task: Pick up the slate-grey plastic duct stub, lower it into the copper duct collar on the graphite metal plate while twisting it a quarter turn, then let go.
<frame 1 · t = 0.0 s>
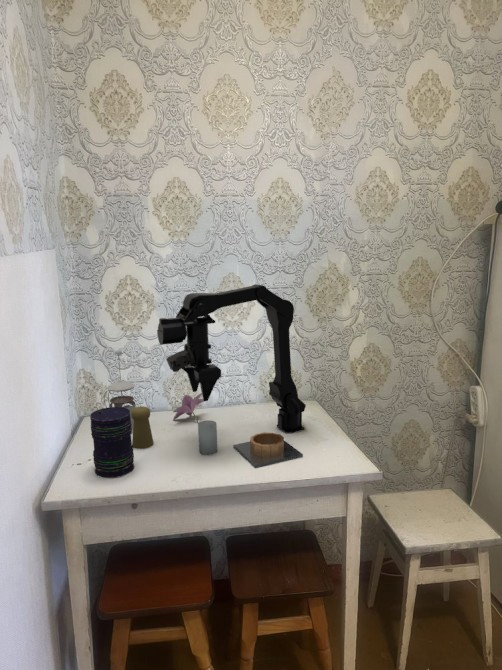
hand: (200, 396, 138), 15 cm above the table, fingers open, 9 cm apart
duct stub: (208, 451, 138), on the table
storage jar: (114, 469, 128), on the table
duct collar: (267, 452, 136), on the table
french press: (121, 429, 155), on the table
lily: (189, 421, 161), on the table
cork: (142, 445, 143), on the table
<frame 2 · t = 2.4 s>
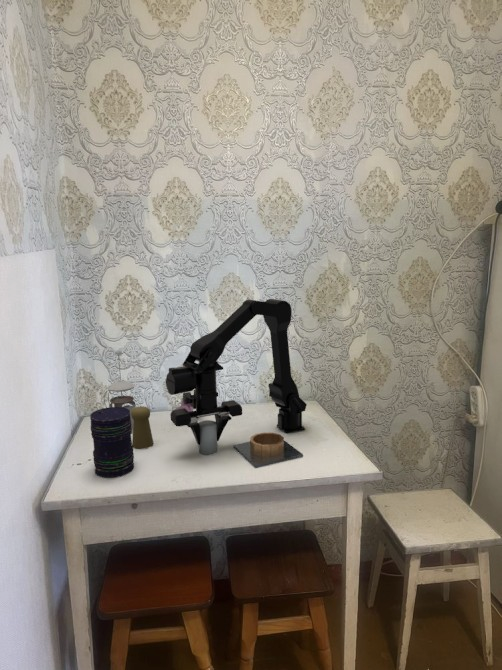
hand: (208, 442, 137), 3 cm above the table, fingers closed on duct stub, 5 cm apart
duct stub: (208, 451, 138), on the table, touching gripper
everything else where it was.
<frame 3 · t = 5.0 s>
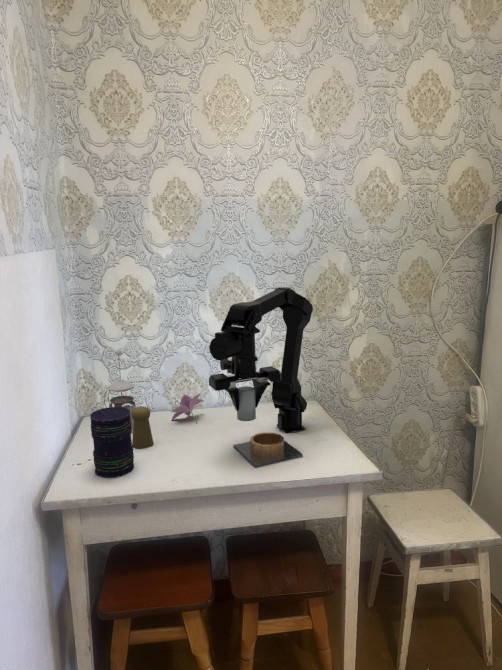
hand: (246, 408, 135), 12 cm above the table, fingers closed on duct stub, 5 cm apart
duct stub: (246, 417, 135), point 10 cm above the table, touching gripper
everything else where it was.
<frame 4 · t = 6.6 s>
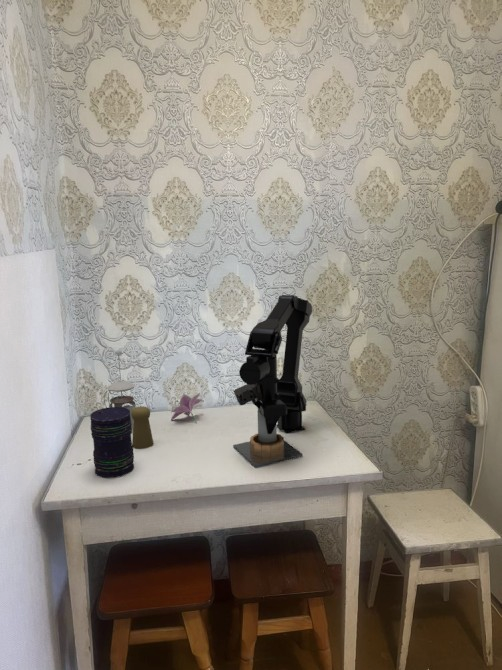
hand: (266, 430, 135), 6 cm above the table, fingers closed on duct stub, 5 cm apart
duct stub: (267, 438, 136), point 4 cm above the table, touching gripper
everything else where it was.
when the fingers open (5 cm above the table, at t = 7.7 s): duct stub drops 2 cm, resting on duct collar.
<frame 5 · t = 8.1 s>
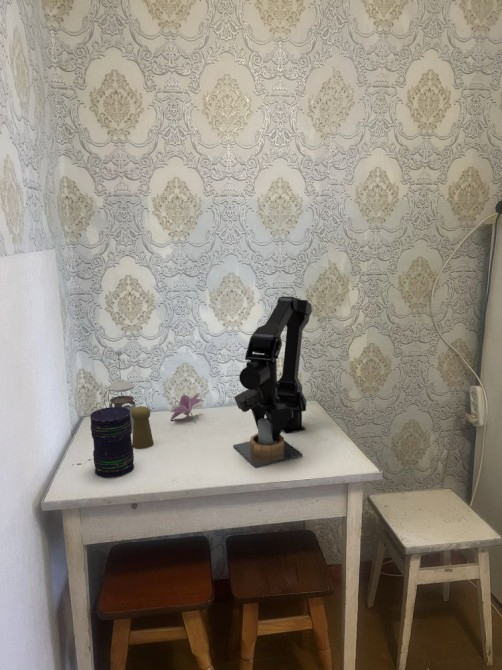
hand: (266, 434, 136), 5 cm above the table, fingers open, 9 cm apart
duct stub: (267, 449, 136), point 1 cm above the table, touching duct collar
everything else where it was.
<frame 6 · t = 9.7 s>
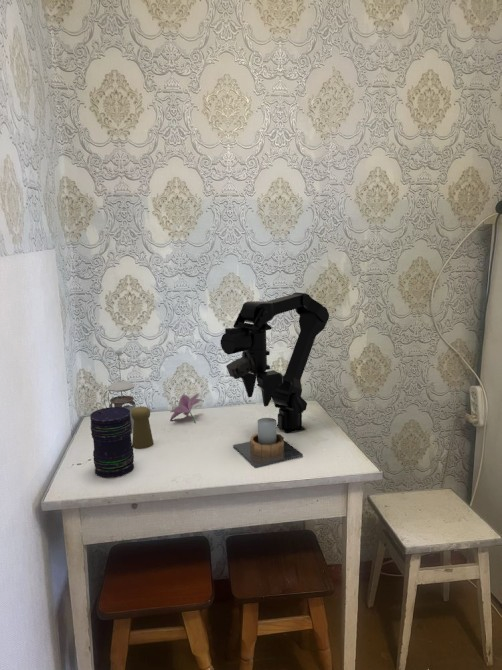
hand: (257, 401, 142), 12 cm above the table, fingers open, 9 cm apart
nothing on the table moved.
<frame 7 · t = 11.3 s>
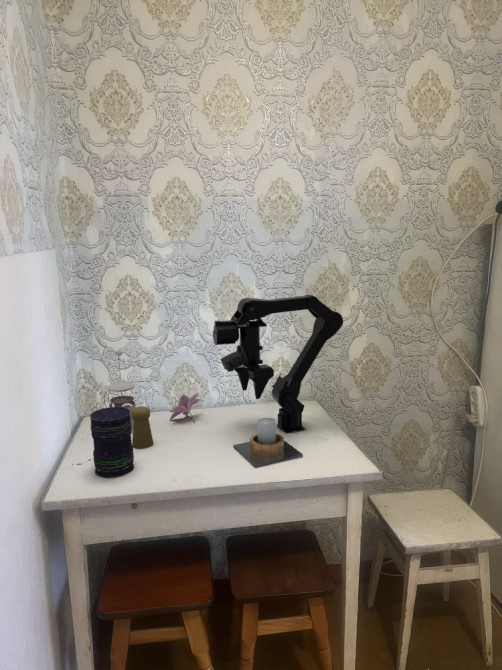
hand: (250, 394, 147), 12 cm above the table, fingers open, 9 cm apart
at the end: duct stub 0.1 cm from the duct collar (horizontally); duct stub tilted 2°; the gripper is holding nothing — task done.
